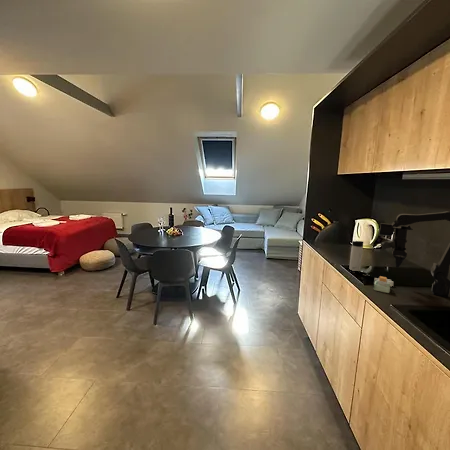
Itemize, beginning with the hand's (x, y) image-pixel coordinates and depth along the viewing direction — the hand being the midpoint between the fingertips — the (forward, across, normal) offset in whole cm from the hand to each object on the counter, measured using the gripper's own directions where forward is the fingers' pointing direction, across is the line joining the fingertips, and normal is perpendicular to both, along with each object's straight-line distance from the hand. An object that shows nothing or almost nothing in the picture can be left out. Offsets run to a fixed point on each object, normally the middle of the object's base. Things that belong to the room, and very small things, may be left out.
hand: (397, 265), depth 146 cm
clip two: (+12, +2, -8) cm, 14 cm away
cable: (+12, +2, -5) cm, 13 cm away
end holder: (+12, +10, -6) cm, 17 cm away
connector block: (+11, +10, -6) cm, 16 cm away
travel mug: (+12, -14, -21) cm, 28 cm away
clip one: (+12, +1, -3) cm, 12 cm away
